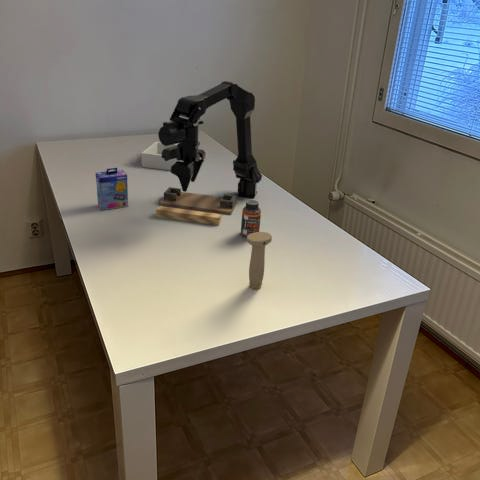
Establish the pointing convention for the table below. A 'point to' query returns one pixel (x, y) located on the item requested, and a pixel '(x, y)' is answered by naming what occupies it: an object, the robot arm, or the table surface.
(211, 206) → the endcap frame
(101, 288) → the table surface
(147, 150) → the tray
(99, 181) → the ink cartridge box
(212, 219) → the slat
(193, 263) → the table surface
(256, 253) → the handle
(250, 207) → the supplement bottle
